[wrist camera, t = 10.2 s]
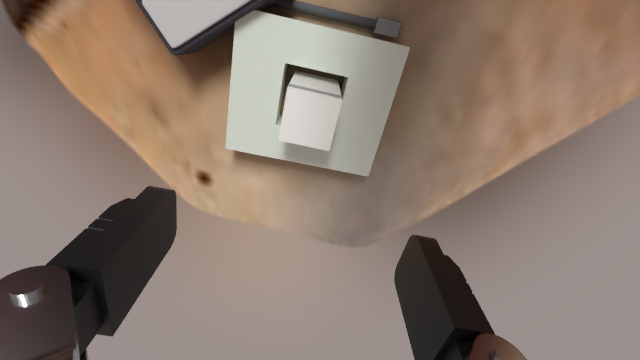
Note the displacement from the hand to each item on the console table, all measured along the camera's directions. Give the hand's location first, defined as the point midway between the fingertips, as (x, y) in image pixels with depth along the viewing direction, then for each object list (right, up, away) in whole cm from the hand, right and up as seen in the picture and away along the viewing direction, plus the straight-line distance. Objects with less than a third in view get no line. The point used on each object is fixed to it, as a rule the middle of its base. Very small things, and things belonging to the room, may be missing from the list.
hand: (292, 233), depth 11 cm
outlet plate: (0, +10, +19) cm, 22 cm away
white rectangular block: (0, +10, +19) cm, 22 cm away
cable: (+1, +16, +16) cm, 23 cm away
